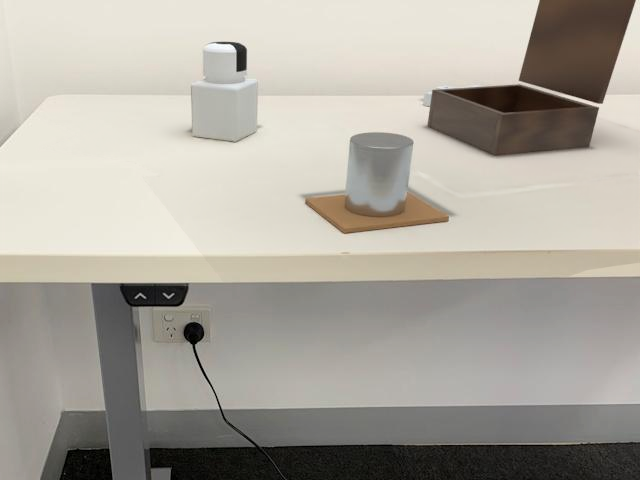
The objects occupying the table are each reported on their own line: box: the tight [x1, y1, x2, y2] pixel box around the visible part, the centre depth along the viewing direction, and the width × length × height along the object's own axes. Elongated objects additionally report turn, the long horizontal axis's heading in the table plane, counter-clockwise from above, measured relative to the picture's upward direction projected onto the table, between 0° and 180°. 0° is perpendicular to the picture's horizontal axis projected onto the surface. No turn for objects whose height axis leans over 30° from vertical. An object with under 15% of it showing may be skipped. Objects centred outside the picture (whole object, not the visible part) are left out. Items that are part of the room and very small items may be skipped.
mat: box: [304, 191, 450, 234], centre depth 80 cm, size 12×10×1 cm
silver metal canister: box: [345, 131, 415, 217], centre depth 78 cm, size 6×6×7 cm
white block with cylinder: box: [190, 41, 259, 143], centre depth 105 cm, size 7×7×12 cm
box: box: [427, 83, 600, 157], centre depth 104 cm, size 15×17×6 cm
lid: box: [518, 0, 637, 105], centre depth 101 cm, size 16×17×5 cm
